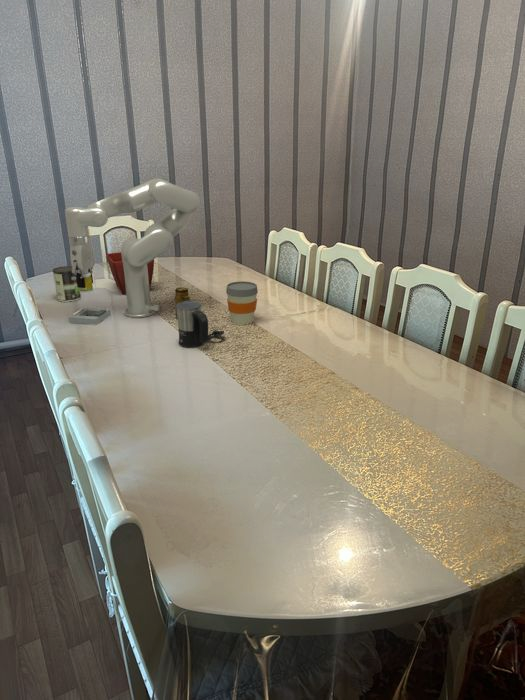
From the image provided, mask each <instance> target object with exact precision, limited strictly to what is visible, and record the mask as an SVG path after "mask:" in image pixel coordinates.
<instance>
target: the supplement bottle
mask: <svg viewBox="0 0 525 700" xmlns="http://www.w3.org/2000/svg"><path fill="white" fill-rule="evenodd" d="M78 270H80V269H78ZM88 271H89V270H86V271H83V278H84V279H85V286H86V287H85V288H79V292H80V293H83V294H85V293H92V292H93V291H94V287H93V283H92V278H91V273H90V272H88ZM78 273H81V272H78Z"/></svg>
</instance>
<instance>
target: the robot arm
mask: <svg viewBox="0 0 525 700" xmlns="http://www.w3.org/2000/svg"><path fill="white" fill-rule="evenodd" d="M156 203H160V204H161V205H164V206H166V207H168V208H171V210H170V212H168V213H167V214H166V215H165V216H162V217H161V218H160V219H159V220H158V221H156V222H154V223H152V224H151V225H149V226H148V227H146V229H145V231H144V234H143V235H144V236H141V238H137V237H128V238H126V239H125V240H124V241H123V242H122V245H121V248H120V252H121V255H122V261H123V267H124V275H125V285H126V294H125V295H126V302H127V308H126V309H125V310H124V315H125V316H127V317H128V318H135V319H137V318H145V317H149V316H152V315H154V314H155V313H156V312H160V309H161V308H160V305H158V304H154V301H152V300H151V295H150V294H151V293H150V290H149V280H148V268H147V263H149V262H150V261H152V260H153V259H154V260H155V259H157V258H158V257H159V256H162V255H163V254H164V253H165V252H166V251H168V250H169V248H170V247H171V246H172V243H173V238H174V237H175V236H177V235H178V234H179V233H180V232H182V231H183V230H184V229H186V227H188V225H189V223H190V221H191V219H192V217H193V214H194V213H196V212H198V210H199V209H200V206H201V200H200V197H199V196H198V194H197V193H195V192H194V191H192V190H189V189H186V188H183V187H181V186H178V185H175V184H173V183H171V182H169V181H167V180H164V179H162V178H153V179H151V180H148V181H146V182H143V183H141V184H138V185H137V186H134V187H131V188H129V189H127V190H125V191H121V192H119V193H116V194H114V195H110V196H108V197H106V198H103V199H100V200H98V201H96V202H93V203H91V204H89V205H88V206H87V208H84V207H81V206H70V207H67V208H65V210H64V215H65V222H66V228H67V229H66V230H67V236H68V241H69V245H70V246H69V248H70V249H69V251H70V253H69V255H70V263H71V266H72V273H73V274H74V275H75V278H76V280H77V287H78V288H85V287H86V286H85V279H84V278H83V271H86V270H89V271H88V272H90V273H91V278H92V284H94V277H93V273H94V272H93V267H95V265H96V264H95V263H96V262H95V257H94V256H95V255H94V252H93V247H92V244H91V241H90V235H89V227H91V228H101V227H104V226H105V225H106V224H107V223H108V221H109V220H108V219H110V218H113V217H114V216H117V215H120V214H125V213H126V214H127V213H131V214H132V213H135V212H136V213H137V212H139V211H141V210H142V209H145V208H148V207H150V206H152V205H155V204H156ZM78 269H80V270H78ZM79 272H81V273H79Z"/></svg>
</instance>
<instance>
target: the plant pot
mask: <svg viewBox="0 0 525 700" xmlns="http://www.w3.org/2000/svg"><path fill="white" fill-rule="evenodd" d="M106 259H107V263H108V267H109V269H110V272H111V274H112V277H113V279H114V282H115V284H116V287H117V288H118V290H119V291H120V293H121V294H122V295H126V285H125V275H124V267H123V261H122V255H121V251H120V252H119V251H118V252H111V253H106ZM154 266H155V259H153V260H152V261H150V262H149V263H147V268H148V280H149V291H150V289H151V286H152V280H153V275H154V269H155V268H154Z"/></svg>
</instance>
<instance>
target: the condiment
mask: <svg viewBox="0 0 525 700" xmlns="http://www.w3.org/2000/svg"><path fill="white" fill-rule="evenodd" d="M174 294H175V295H174V306H175V307H174V308H175V309H174V310H175V314H174V315H173V314H172V315H171V317H173V319H174V318H175V319H176V320H178V317H177V307H176V305H177V304H178V303H181V302H186V301H191V300H190V299H191V298H190V295H189V288H187V287H176V288H175V293H174Z"/></svg>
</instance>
